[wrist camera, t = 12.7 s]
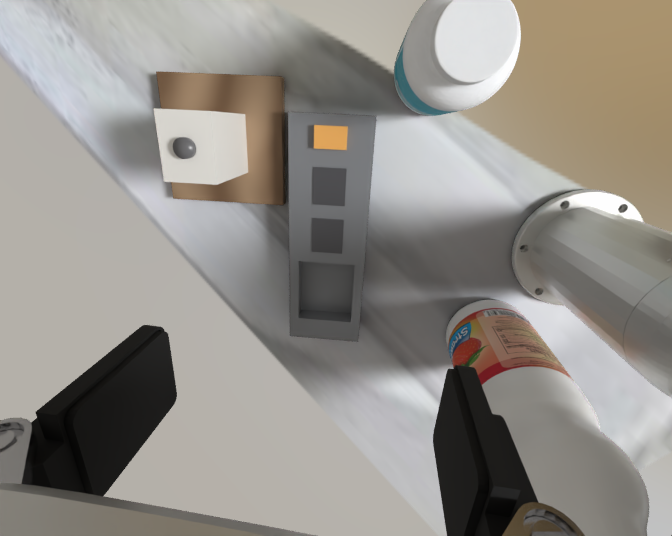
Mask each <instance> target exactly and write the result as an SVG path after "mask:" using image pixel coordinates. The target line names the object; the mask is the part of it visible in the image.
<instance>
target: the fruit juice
mask: <svg viewBox="0 0 672 536" xmlns="http://www.w3.org/2000/svg"><path fill="white" fill-rule="evenodd" d="M446 343H447V348H448V351H449V354H450V357H451V360H452V363H453V366H455V365H461V366H468V367H474V368H475V369H476V371H477V374H478V377H479V379H480V382H481V385H482V388H483V390H484V393H485V396H486V398H487V401H488V404H489V406H490V409H491V412H492V414H496V415H501V416H502V417H503V418H504V420H505V422H506V424H507V426H508V429H509V431H510V434H511V436H512V439H513V441H514V444H515V446H516V448H517V451H518V453H519V456H520V458H521V461H522V463H523V466H524V468H525V470H526V473H527V475H528V478H529V480H530V483H531V485H532V488H533V490H534V493H535V495H536V497H537V500H538V502H539V503H543V504H546V505H549V506H552V507H554V508H555V509H557V510H559V511H560V512H562V513H564V514H565V515H566V516H567V517H569V518H570V519H571V520H572V521H573V522H574V523H575V524H576V525H577V526H578V527H579V528H580V530H581V531H582V532H583V533H584V535H585V536H647V523H648V517H649V498H648V494H647V490H646V486H645V484H644V481H643V479H642V477H641V476H640V473H639V472H638V470H637V469H636V467H635V466H634V464H633V462H632V461H631V459H630V458H629V457H628V456H627V454H626V453H625V452H624V451H623V450H622V449H621V448H620V447H619V446H618V445H617V444H616V443H614V442H613V441H612V440H611V439H610V438H608V437H607V436H606V435H605V434H604V433H602V432H601V429H600V424H599V421H598V418H597V415H596V413H595V411H594V409H593V408H592V406H591V404H590V403H589V401H588V400H587V398H586V397H585V395H584V394H583V392H582V391H581V389H580V388H579V387H578V385H577V384H576V383H575V382H574V380H573V379H572V378H571V377H570V375H569V374H568V373H567V371H566V370H565V369H564V367H563V366H562V365H561V363H560V362H559V361H558V359H557V358H556V357H555V355H554V354H553V353H552V351H551V350H550V349H549V347H548V346H547V345H546V343H545V342H544V341H543V339H542V338H541V337H540V336H539V334H538V333H537V332H536V330H535V329H534V328H533V326H532V325H531V324H530V322H529V321H528V320H527V318H526V317H525V316H524V315H523V314H522V313H521V312H520V311H519V310H518V309H517V308H515V307H514V306H512V305H510V304H508V303H506V302H503V301H499V300H481V301H476V302H473V303H471V304H468V305H466V306H465V307H463V308H461V309H460V310H459V311H458V312H457V313H456V314H455V315H454V316H453V317H452V319H451V320H450V322H449V324H448V327H447V331H446Z"/></svg>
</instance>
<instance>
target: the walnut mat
mask: <svg viewBox="0 0 672 536" xmlns="http://www.w3.org/2000/svg"><path fill="white" fill-rule="evenodd" d="M156 74H157V81H158V89H159V96H160V103H161V109H177V110H199V111H216V112H227V113H238V114H245V120H246V139H247V159H248V173H246V174H243V175H241V176H238V177H236V178H233V179H231V180H228V181H226V182H223V183H221V184H218V185H212V184H195V183H178V182H171V185H172V192H173V198H175V199H191V200H208V201H224V202H240V203H256V204H272V205H284V204H285V203H286V194H285V110H284V78H283V77H281V76H256V75H230V74H205V73H179V72H156Z"/></svg>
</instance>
